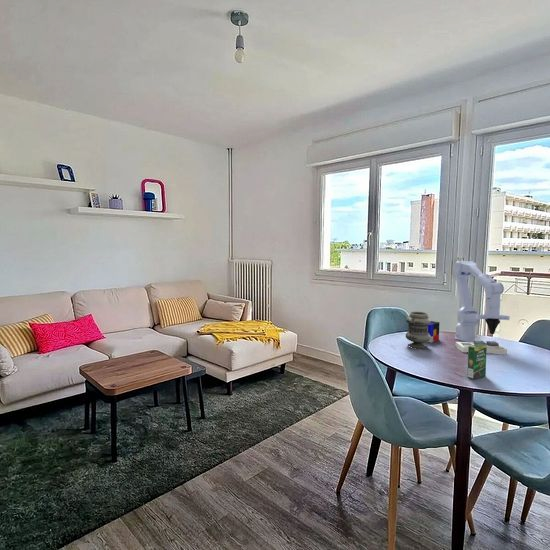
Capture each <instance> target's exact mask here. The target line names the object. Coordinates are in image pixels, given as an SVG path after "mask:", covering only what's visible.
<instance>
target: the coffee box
mask: <svg viewBox="0 0 550 550" xmlns="http://www.w3.org/2000/svg"><path fill="white" fill-rule="evenodd" d="M486 351H487V345H485V344H482V343H480V344H476V345H472V346H469V347H468V353H467V354H468V355H467V374H466V375H467V378H468V379H471V380H477V379H479V378H484V377H487V375H486V374H487V371H486V370H487V353H486Z"/></svg>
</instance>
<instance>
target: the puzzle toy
mask: <svg viewBox="0 0 550 550" xmlns="http://www.w3.org/2000/svg"><path fill="white" fill-rule="evenodd" d="M428 333H429V334H430V336H431V338H430V340H429V341H428V342H431V343H434V342H436V341H435V340H437V341H439V340H440V321H433V320H431V323H430V324H429V325H428ZM438 339H439V340H438ZM433 341H434V342H433ZM428 342H427V343H428Z"/></svg>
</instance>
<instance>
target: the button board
mask: <svg viewBox="0 0 550 550" xmlns="http://www.w3.org/2000/svg"><path fill="white" fill-rule="evenodd" d="M461 343H470V344H471V345H462V344H461ZM472 345H474V342H465V341H455V347H456V348H457V349H458V351H460V352H462V353H467V352H468V347H469V346H472ZM490 353H494V355H497V354H498V355H508V348H507V347H504V346H503V345H502V344H499V347H498V346H488V345H487V351H486V354H490Z"/></svg>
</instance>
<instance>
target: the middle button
mask: <svg viewBox="0 0 550 550" xmlns="http://www.w3.org/2000/svg"><path fill="white" fill-rule="evenodd" d="M473 343H474V345H476V344H480V343H482V344H485V345H486V343H487V342H485V341H484V340H479V341H474V342H473Z"/></svg>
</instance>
